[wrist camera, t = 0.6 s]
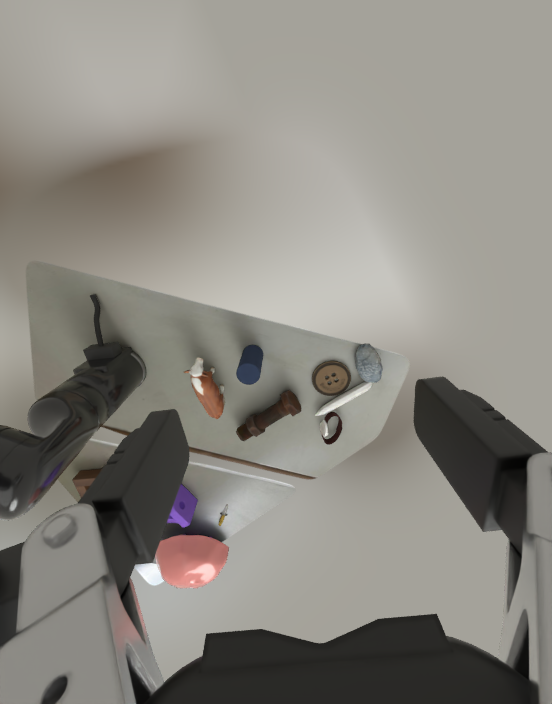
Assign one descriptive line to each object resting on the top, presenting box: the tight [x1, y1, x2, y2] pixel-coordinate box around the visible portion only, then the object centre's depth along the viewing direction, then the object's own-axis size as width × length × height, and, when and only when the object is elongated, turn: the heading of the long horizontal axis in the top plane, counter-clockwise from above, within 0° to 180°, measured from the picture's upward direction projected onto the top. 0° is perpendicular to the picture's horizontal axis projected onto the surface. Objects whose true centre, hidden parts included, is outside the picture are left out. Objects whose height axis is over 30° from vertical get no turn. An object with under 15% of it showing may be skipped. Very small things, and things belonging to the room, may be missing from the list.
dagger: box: [219, 504, 228, 526], centre depth 78 cm, size 11×1×2 cm
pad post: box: [236, 345, 263, 385], centre depth 56 cm, size 4×4×9 cm
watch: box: [320, 412, 342, 444], centre depth 65 cm, size 8×5×4 cm, turn 175°
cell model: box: [155, 533, 229, 588], centre depth 78 cm, size 17×20×11 cm
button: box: [312, 361, 351, 396], centre depth 62 cm, size 8×8×1 cm
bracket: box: [167, 484, 198, 528], centre depth 73 cm, size 12×7×7 cm, turn 123°
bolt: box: [236, 390, 301, 441], centre depth 64 cm, size 6×5×15 cm
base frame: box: [72, 469, 102, 498], centre depth 73 cm, size 10×10×3 cm
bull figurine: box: [184, 358, 225, 419], centre depth 59 cm, size 4×13×8 cm, turn 14°
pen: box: [315, 382, 372, 416], centre depth 63 cm, size 2×14×2 cm, turn 125°
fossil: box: [356, 344, 383, 382], centre depth 59 cm, size 8×4×5 cm
